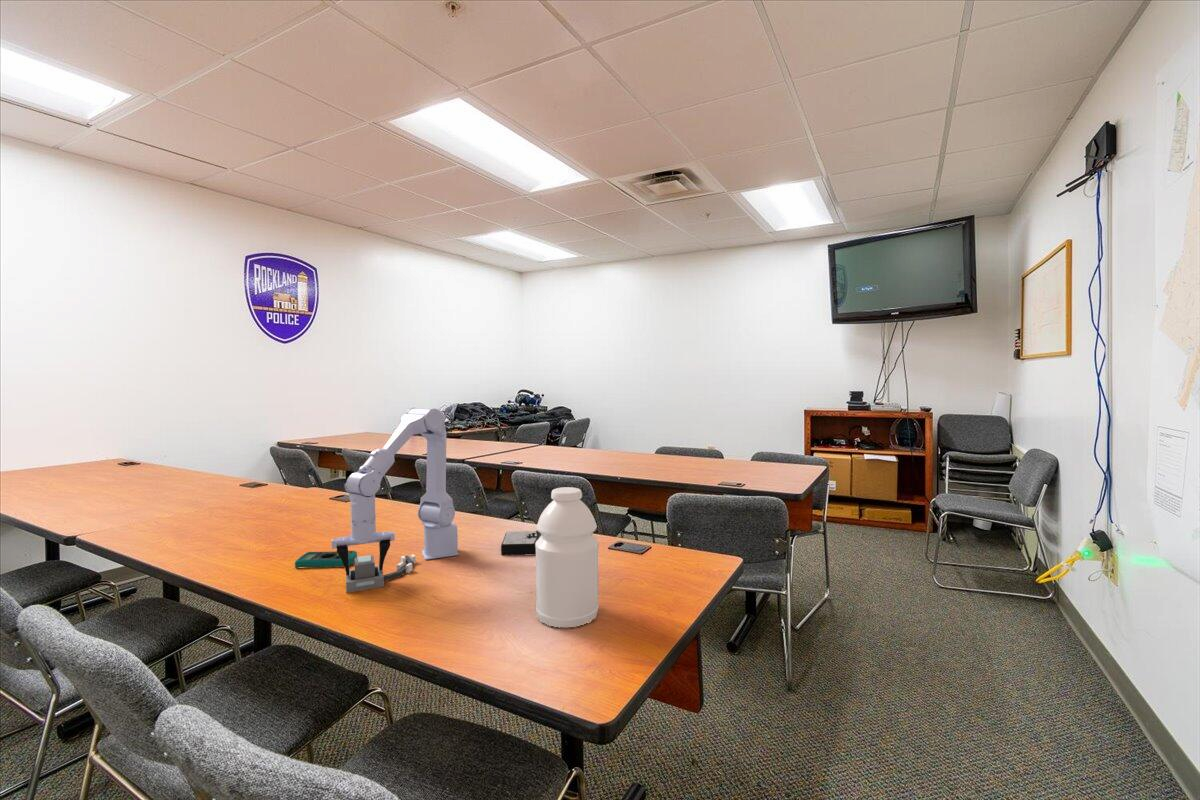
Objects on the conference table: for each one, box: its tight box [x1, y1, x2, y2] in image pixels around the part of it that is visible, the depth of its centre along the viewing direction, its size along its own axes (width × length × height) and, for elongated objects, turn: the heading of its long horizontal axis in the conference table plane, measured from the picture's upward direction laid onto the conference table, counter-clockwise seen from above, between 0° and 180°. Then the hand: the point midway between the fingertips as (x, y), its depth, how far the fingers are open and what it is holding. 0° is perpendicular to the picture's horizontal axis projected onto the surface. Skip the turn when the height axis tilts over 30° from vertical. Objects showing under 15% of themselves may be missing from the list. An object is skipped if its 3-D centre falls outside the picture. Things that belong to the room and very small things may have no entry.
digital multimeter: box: [294, 550, 358, 569], centre depth 147 cm, size 7×15×3 cm, turn 95°
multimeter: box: [500, 530, 541, 556], centre depth 160 cm, size 13×19×5 cm
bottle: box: [535, 486, 600, 629], centre depth 114 cm, size 14×14×28 cm
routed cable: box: [383, 553, 417, 582], centre depth 141 cm, size 5×16×2 cm, turn 179°
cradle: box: [345, 565, 385, 594], centre depth 132 cm, size 8×9×2 cm
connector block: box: [354, 554, 376, 580], centre depth 133 cm, size 4×6×6 cm
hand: (364, 571), depth 133 cm, fingers open, 7 cm apart
